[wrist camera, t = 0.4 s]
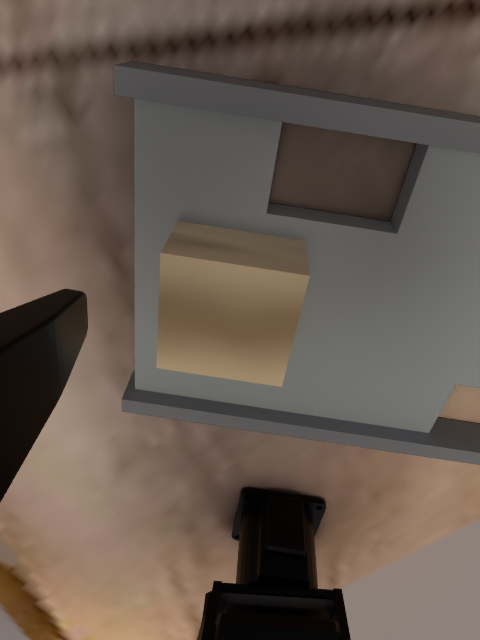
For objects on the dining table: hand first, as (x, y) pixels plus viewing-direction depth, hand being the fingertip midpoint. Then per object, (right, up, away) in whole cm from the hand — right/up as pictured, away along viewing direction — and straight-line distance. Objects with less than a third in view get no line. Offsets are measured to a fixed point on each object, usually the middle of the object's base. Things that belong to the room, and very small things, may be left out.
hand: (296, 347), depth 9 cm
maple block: (-2, +2, +13) cm, 13 cm away
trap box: (+7, +2, +14) cm, 16 cm away
